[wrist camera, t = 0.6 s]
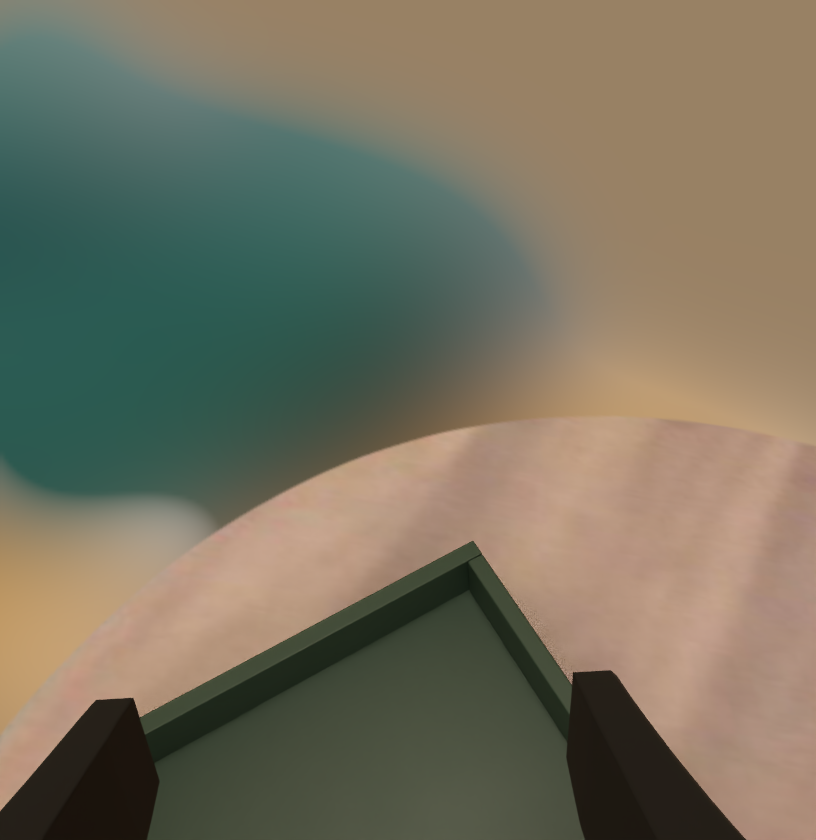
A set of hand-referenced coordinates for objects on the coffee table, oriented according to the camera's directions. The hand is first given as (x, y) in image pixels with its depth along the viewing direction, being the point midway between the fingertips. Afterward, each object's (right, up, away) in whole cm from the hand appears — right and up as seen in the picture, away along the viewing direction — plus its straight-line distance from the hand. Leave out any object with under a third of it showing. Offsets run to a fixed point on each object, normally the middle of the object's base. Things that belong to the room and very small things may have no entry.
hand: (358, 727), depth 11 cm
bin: (-1, -12, +17) cm, 20 cm away
